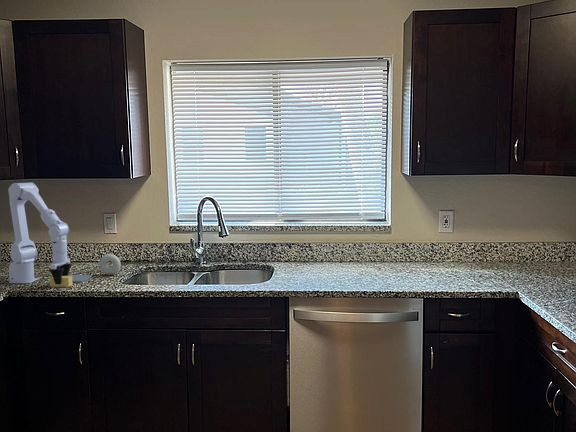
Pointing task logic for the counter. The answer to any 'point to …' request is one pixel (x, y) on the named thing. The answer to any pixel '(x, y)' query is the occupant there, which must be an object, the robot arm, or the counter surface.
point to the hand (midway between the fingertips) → (61, 282)
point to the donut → (114, 260)
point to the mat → (80, 278)
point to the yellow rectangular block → (62, 282)
